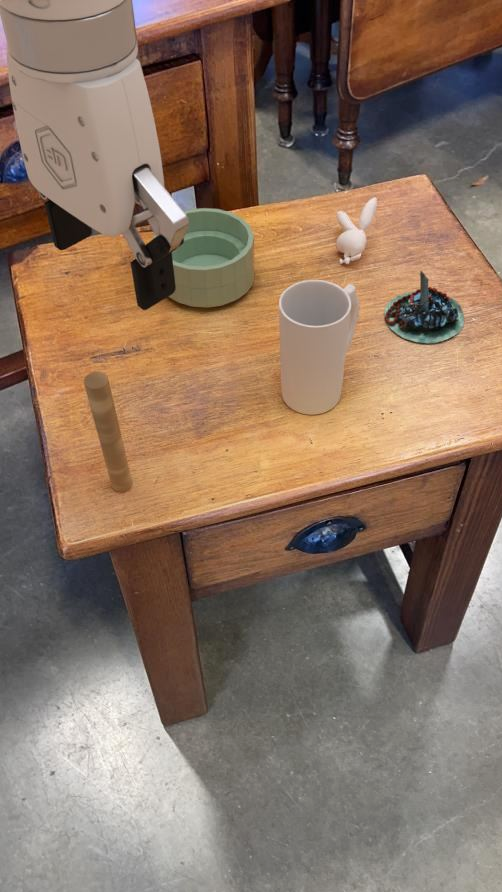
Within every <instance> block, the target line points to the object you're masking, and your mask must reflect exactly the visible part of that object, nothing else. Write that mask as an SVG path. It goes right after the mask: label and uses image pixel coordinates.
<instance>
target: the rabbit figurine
mask: <svg viewBox="0 0 502 892" xmlns="http://www.w3.org/2000/svg"><path fill="white" fill-rule="evenodd" d="M377 207H378V199H377V197H375V196H374V197H371V198H370V199H369V200H368V201H367V202H365V205H364V206H363V208H362V210H361V212H360V216H359V220H358V226H359V228H358V227H357V226H356V225H355V224H354V223H353V221H352V220H351V219H350V217H349V214H347V213H346V212H345V211H342V210H338V211H337V212H336V219H337V222H338V224H339V226H340V227H341V229H343V230H344V232H342V233H341V234H340V235H339V236H337V239H336V242H335V247H336V249H337V251H338V252H340V253H342V254H343V258H344V259H342V258H339V266H341V265H343V264H345V265H349V264H350V262H354V261H357V260H360V259H361V257H362V253H363V252H364V250H365V249H366V246H367V235H366V233H365V231H366V230H368V229H369V228H370V227H371V225H372V224H373V220H374V217H375V215H376V211H377Z"/></svg>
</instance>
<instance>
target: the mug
mask: <svg viewBox="0 0 502 892" xmlns="http://www.w3.org/2000/svg"><path fill="white" fill-rule="evenodd" d="M356 290H357V289H356V286H355V285H353V284H351V283H348V284H347V285H346V286H344V287H341V286H340V285H338V284H336V283H334V282H331V281H328V280H322V279H307V280H306V279H305V280H302V281H298V282H295V283H293V284H292V285H290V286H288V287H287V288H286V289H285V290H284V291H282V293H281V294H280V296H279V300H278V308H279V309H278V311H279V312H278V314H279V315H278V318H279V319H278V327H279V328H278V329H279V330H278V331H279V363H280V365H279V366H280V386H281V387H280V388H281V389H280V390H281V391H280V392H281V396H282V400H283V402H284V403H285V405H286V406H287V407H288V408H289V409H291V410H293V411H294V412H297V413H299V414H302V415H303V414H304V415H311V416H312V415H313V416H314V415H322V414H325V413H327V412H330V411H331V410H332V409H333V408H335V407H336V406H337V405H338V403H339V402H340V399H341V396H342V390H343V389H342V388H343V381H344V376H345V365H346V357H347V353H348V352H349V351H350V349H351V346H352V343H353V340H354V336H355V333H356V329H357V325H358V320H359V316H360V302H359V301H360V300H359V298H358V295H357V292H356Z"/></svg>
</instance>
